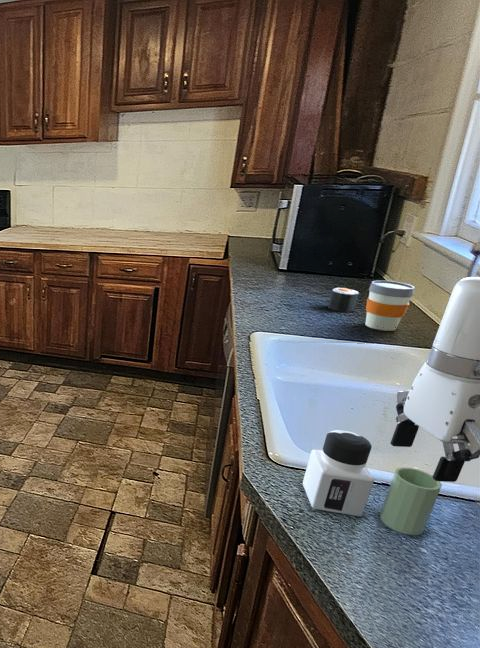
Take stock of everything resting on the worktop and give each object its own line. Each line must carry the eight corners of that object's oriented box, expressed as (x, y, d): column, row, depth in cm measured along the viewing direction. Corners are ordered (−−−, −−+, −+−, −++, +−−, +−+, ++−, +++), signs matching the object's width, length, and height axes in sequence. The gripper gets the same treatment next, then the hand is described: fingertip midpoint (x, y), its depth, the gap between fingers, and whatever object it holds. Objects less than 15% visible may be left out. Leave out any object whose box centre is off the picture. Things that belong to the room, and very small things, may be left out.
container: (362, 518, 89) (384, 452, 84) (311, 509, 91) (330, 444, 86) (348, 491, 96) (368, 429, 91) (301, 483, 98) (318, 422, 93)
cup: (407, 512, 91) (423, 467, 87) (432, 536, 85) (451, 489, 82) (371, 511, 91) (387, 467, 88) (394, 534, 85) (412, 488, 82)
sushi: (344, 313, 199) (349, 292, 196) (323, 307, 206) (328, 287, 203) (358, 310, 202) (363, 290, 199) (337, 305, 209) (342, 285, 206)
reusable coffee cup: (357, 319, 193) (369, 278, 187) (399, 324, 187) (412, 283, 182) (361, 328, 183) (373, 286, 177) (404, 334, 177) (418, 291, 171)
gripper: (540, 389, 69) (489, 497, 76) (442, 343, 85) (407, 435, 92) (481, 387, 69) (436, 494, 76) (395, 341, 85) (364, 433, 92)
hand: (421, 462), depth 84 cm, fingers open, 9 cm apart
